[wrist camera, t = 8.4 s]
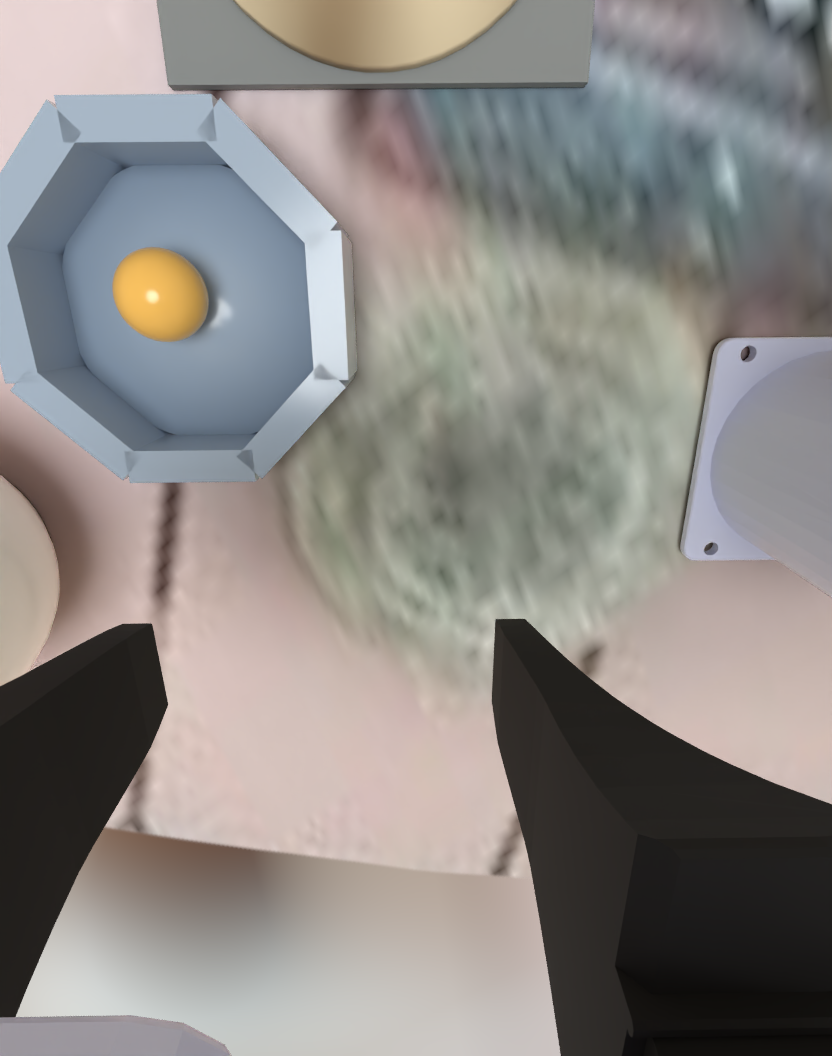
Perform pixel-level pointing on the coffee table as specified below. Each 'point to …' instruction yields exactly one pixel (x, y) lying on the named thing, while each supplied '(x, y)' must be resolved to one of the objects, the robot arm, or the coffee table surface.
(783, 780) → the coffee table surface
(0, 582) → the lidded jar
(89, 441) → the bowl
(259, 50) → the mat
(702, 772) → the robot arm
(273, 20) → the lid
